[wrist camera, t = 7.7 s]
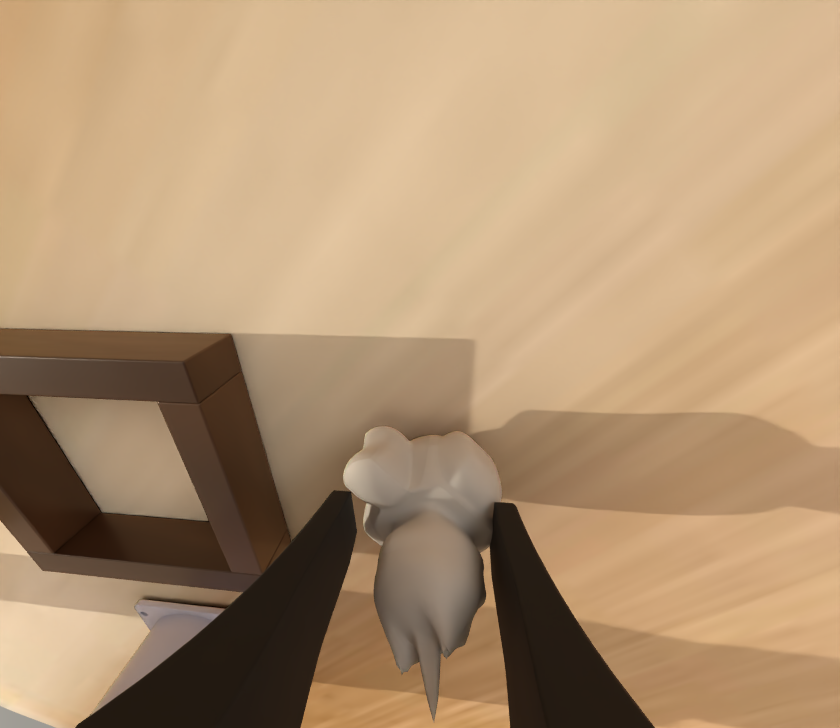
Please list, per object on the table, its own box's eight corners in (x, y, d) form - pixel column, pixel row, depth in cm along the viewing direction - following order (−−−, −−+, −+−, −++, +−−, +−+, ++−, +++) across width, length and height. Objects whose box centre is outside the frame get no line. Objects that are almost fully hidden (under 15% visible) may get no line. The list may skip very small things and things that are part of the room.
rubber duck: (435, 520, 16) (421, 775, 9) (332, 437, 14) (210, 672, 7) (528, 466, 14) (605, 741, 7) (420, 363, 12) (374, 585, 5)
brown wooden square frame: (293, 547, 18) (270, 595, 16) (90, 529, 19) (42, 571, 17) (231, 333, 13) (183, 361, 10) (-49, 327, 14) (-145, 351, 12)
